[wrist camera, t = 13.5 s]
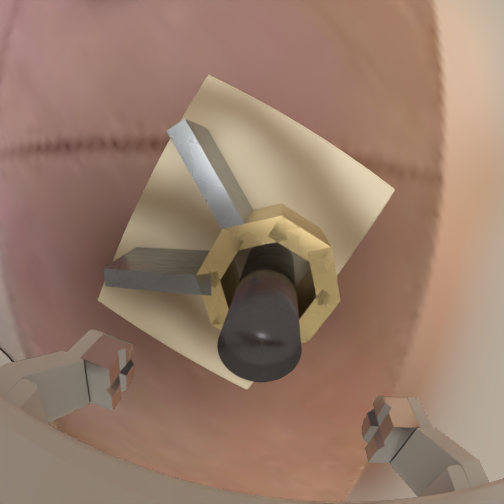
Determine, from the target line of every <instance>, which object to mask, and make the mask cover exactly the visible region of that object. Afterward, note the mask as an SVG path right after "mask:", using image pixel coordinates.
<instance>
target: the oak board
mask: <svg viewBox="0 0 504 504" xmlns="http://www.w3.org/2000/svg"><path fill="white" fill-rule="evenodd" d="M184 119H187V120H189V121H191V122H194V123H196V124H198V125H201V126H203V127H205V128H207V129H208V131H209V133H210V134H211V136H212V138H213V140H214V141H215V143H216V145H217V147H218V148H219V150H220V152H221V154H222V155H223V157H224V159H225V161H226V162H227V164H228V166H229V168H230V169H231V171H232V173H233V175H234V177H235V178H236V180H237V182H238V184H239V185H240V187H241V189H242V191H243V193H244V194H245V196H246V198H247V200H248V202H249V203H250V205H251V207H252V209H253V210H255V209H259V208H264V207H268V206H273V205H277V204H281V203H282V204H283V205H285V206H287V207H288V208H290V209H291V210H293V211H295V212H296V213H298V214H299V215H301V216H302V217H304V218H306V219H307V220H309V221H310V222H312V223H313V224H315V225H316V226H318V227H320V228H321V229H322V231H323V233H324V234H325V236H326V238H327V240H328V241H329V243H330V245H331V247H332V252H333V258H334V264H335V269H336V275H338V274H339V272H340V271H341V269H342V268H343V267H344V265H345V264H346V262H347V261H348V260H349V258H350V257H351V255H352V254H353V252H354V251H355V250H356V248H357V247H358V245H359V244H360V242H361V241H362V239H363V238H364V236H365V235H366V233H367V232H368V230H369V229H370V227H371V226H372V224H373V223H374V221H375V220H376V218H377V217H378V215H379V214H380V212H381V211H382V209H383V208H384V206H385V204H386V203H387V201H388V200H389V198H390V197H391V195H392V193H393V192H394V190H395V189H394V188H392V187H391V186H390V185H388V184H387V183H386V182H385V181H383V180H382V179H381V178H379V177H378V176H376V175H375V174H374V173H372V172H371V171H370V170H368V169H367V168H365V167H364V166H363V165H361V164H360V163H358V162H357V161H356V160H354V159H353V158H351V157H350V156H348V155H347V154H345V153H344V152H343V151H341V150H340V149H338V148H337V147H335V146H334V145H332V144H331V143H329V142H328V141H326V140H324V139H323V138H321V137H320V136H318V135H317V134H315V133H313V132H312V131H310V130H309V129H307V128H305V127H304V126H302V125H301V124H299V123H297V122H296V121H294V120H292V119H291V118H289V117H287V116H285V115H284V114H282V113H280V112H279V111H277V110H275V109H273V108H272V107H270V106H268V105H266V104H264V103H263V102H261V101H259V100H257V99H255V98H253V97H252V96H250V95H248V94H246V93H244V92H242V91H240V90H238V89H236V88H234V87H232V86H230V85H228V84H226V83H224V82H222V81H220V80H218V79H216V78H214V77H212V76H210V75H208V76H207V78H206V79H205V81H204V82H203V84H202V86H201V87H200V89H199V90H198V92H197V94H196V95H195V97H194V99H193V100H192V102H191V104H190V105H189V107H188V109H187V110H186V112H185V114H184V115H183V117H182V119H181V121H182V120H184ZM181 121H180V122H181ZM221 231H222V229H221V227H220V226H219V224H218V222H217V220H216V219H215V217H214V215H213V213H212V211H211V210H210V208H209V206H208V204H207V203H206V201H205V199H204V197H203V196H202V194H201V192H200V190H199V189H198V187H197V185H196V183H195V181H194V180H193V178H192V176H191V174H190V173H189V171H188V169H187V167H186V165H185V164H184V162H183V160H182V158H181V157H180V155H179V153H178V151H177V149H176V148H175V146H174V144H173V142H172V140H171V139H170V140H169V142H168V144H167V146H166V147H165V149H164V151H163V153H162V155H161V157H160V159H159V161H158V163H157V165H156V166H155V168H154V170H153V172H152V174H151V176H150V178H149V180H148V182H147V184H146V186H145V189H144V191H143V193H142V195H141V197H140V199H139V201H138V203H137V205H136V208H135V210H134V212H133V214H132V216H131V218H130V221H129V223H128V225H127V227H126V230H125V232H124V234H123V237H122V239H121V241H120V244H119V246H118V249H117V251H116V253H115V256H114V258H113V261H115V260H117V259H118V258H120V257H121V256H123V255H124V254H126V253H128V252H129V251H131V250H132V249H134V248H136V247H141V248H164V249H187V250H209V251H210V250H211V248H212V247H213V245H214V243H215V241H216V240H217V238H218V236H219V235H220V233H221ZM252 248H253V247H251V248H246V249H242V250H238V252H237V254H236V255H235V257H234V258H235V262H236V266H237V269H238V273H239V277H241V275H242V272H243V269H244V266H245V264H246V261H247V258H248V255H249V253H250V251H251V249H252ZM290 251H291V250H290ZM291 253H292V256H293V261H294V271H295V281H296V287H297V285H298V284H299V282H300V281H301V280H302V278H303V277H304V275H305V274H306V272H307V271H308V270H309V268H310V267H309V262H308V261H307V260H305V259H304V258H302V257H301V256H299V255H297V254H296V253H294V252H292V251H291ZM113 261H112V262H113ZM98 301H99V302H101V303H102V304H104V305H105V306H107V307H108V308H109V309H111V310H112V311H114V312H115V313H117V314H118V315H120V316H121V317H123V318H124V319H126V320H127V321H129V322H130V323H132V324H133V325H135V326H136V327H138V328H139V329H141V330H142V331H144V332H146V333H147V334H149V335H150V336H152V337H153V338H155V339H157V340H158V341H160V342H162V343H163V344H165V345H167V346H168V347H170V348H171V349H173V350H175V351H177V352H178V353H180V354H182V355H183V356H185V357H187V358H189V359H190V360H192V361H194V362H196V363H197V364H199V365H201V366H203V367H205V368H206V369H208V370H210V371H212V372H214V373H216V374H217V375H219V376H221V377H223V378H225V379H227V380H229V381H231V382H233V383H235V384H237V385H238V386H240V387H242V388H244V389H246V390H247V389H248V388H249V387H250V386H251V384H252V383H253V382H254V381H249V380H245V379H242V378H240V377H238V376H236V375H235V374H233V373H232V372H231V371H229V370H228V369H227V368H226V367H225V365H224V364H223V363H222V361H221V359H220V357H219V354H218V348H217V343H218V338H219V335H220V332H221V330H220V329H218V328H216V327H214V326H213V325H211V322H210V319H209V316H208V313H207V310H206V307H205V304H204V301H203V298H202V295H195V294H182V293H170V292H158V291H147V290H137V289H126V288H117V287H107V286H105V282H104V284H103V287H102V290H101V292H100V295H99V298H98Z"/></svg>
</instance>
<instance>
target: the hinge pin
mask: <svg viewBox="0 0 504 504" xmlns="http://www.w3.org/2000/svg"><path fill="white" fill-rule="evenodd" d="M217 348H218V354H219V357H220V359H221V361H222V363H223V364H224V365H225V367H226V368H227V369H228V370H229V371H231V372H232V373H233V374H235V375H236V376H238V377H240V378H242V379H245V380H249V381H254V382H269V381H274V380H277V379H279V378H282V377H284V376H285V375H287V374H288V373H290V372H291V371H292V370H293V369H294V368H295V366H296V365H297V363H298V362H299V359H300V356H301V336H300V324H299V313H298V302H297V291H296V281H295V271H294V261H293V256H292V253H291V251H290V250H289V249H288V248H286V247H284V246H283V245H281V244H280V243H278V242H274V243H269V244H265V245H260V246H255V247H253V248H252V249H251V251H250V253H249V255H248V258H247V261H246V264H245V266H244V269H243V272H242V275H241V277H240V280H239V283H238V286H237V288H236V291H235V294H234V297H233V299H232V302H231V305H230V307H229V310H228V313H227V316H226V318H225V321H224V324H223V327H222V329H221V332H220V335H219V338H218V343H217Z"/></svg>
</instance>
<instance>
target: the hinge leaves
mask: <svg viewBox="0 0 504 504" xmlns="http://www.w3.org/2000/svg"><path fill="white" fill-rule="evenodd" d="M167 133H168V135H169V137H170V139H171V140H172V142H173V144H174V146H175V148H176V149H177V151H178V153H179V155H180V157H181V158H182V160H183V162H184V164H185V165H186V167H187V169H188V171H189V173H190V174H191V176H192V178H193V180H194V181H195V183H196V185H197V187H198V189H199V190H200V192H201V194H202V196H203V197H204V199H205V201H206V203H207V204H208V206H209V208H210V210H211V211H212V213H213V215H214V217H215V219H216V220H217V222H218V224H219V226H220V227H221V229H222V231H221V233H220V235H219V236H218V238H217V240H216V241H215V243H214V245H213V247H212V248H211V250H210V251H209V250H187V249H164V248H141V247H136V248H134V249H132V250H131V251H129V252H128V253H126V254H124V255H123V256H121V257H120V258H118V259H117V260H115V261H113V262H112V263H110V264H109V265H107V266H106V267H104V268H103V273H104V281H105V286H107V287H117V288H126V289H137V290H147V291H158V292H170V293H182V294H195V295H202V298H203V301H204V304H205V307H206V310H207V313H208V316H209V319H210V322H211V325H213V326H214V327H216V328H218V329H220V330H221V329H222V327H223V324H224V321H225V318H226V316H227V313H228V310H229V307H230V305H231V302H232V299H233V297H234V294H235V291H236V288H237V286H238V283H239V280H240V277H239V273H238V269H237V266H236V262H235V258H234V257H235V255H236V254H237V252H238V250H242V249H246V248H251V247H255V246H260V245H265V244H269V243H274V242H278V243H280V244H281V245H283V246H284V247H286V248H288V249H289V250H291V251H292V252H294V253H296V254H297V255H299V256H301V257H302V258H304V259H305V260H307V261H308V262H309V267H310V268H309V270H308V271H307V272H306V274H305V275H304V277H303V278H302V280H301V281H300V282H299V284H298V285H297V287H296V291H297V302H298V313H299V324H300V336H301V343H302V342H308V341H309V340H310V339H311V338H312V336H313V335H314V334H315V333H316V331H317V330H318V329H319V328H320V326H321V325H322V324H323V323H324V321H325V320H326V319H327V318H328V316H329V315H330V314H331V312H332V311H333V310H334V309H335V307H336V306H337V305H338V303H339V302H340V301H341V300H340V294H339V288H338V282H337V275H336V269H335V264H334V258H333V252H332V247H331V245H330V243H329V241H328V240H327V238H326V236H325V234H324V233H323V231H322V229H321V228H320V227H318V226H316V225H315V224H313V223H312V222H310V221H309V220H307V219H306V218H304V217H302V216H301V215H299V214H298V213H296V212H295V211H293V210H291V209H290V208H288V207H287V206H285V205H283V204H282V203H281V204H277V205H273V206H268V207H264V208H259V209H255V210H253V209H252V207H251V205H250V203H249V202H248V200H247V198H246V196H245V194H244V193H243V191H242V189H241V187H240V185H239V184H238V182H237V180H236V178H235V177H234V175H233V173H232V171H231V169H230V168H229V166H228V164H227V162H226V161H225V159H224V157H223V155H222V154H221V152H220V150H219V148H218V147H217V145H216V143H215V141H214V140H213V138H212V136H211V134H210V133H209V131H208V129H207V128H205V127H203V126H201V125H198V124H196V123H194V122H191V121H189V120H187V119H184V120H182V121H181V122H179V123H178V124H176V125H174V126H173V127H171V128H170V129H168V130H167Z"/></svg>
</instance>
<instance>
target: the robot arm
mask: <svg viewBox="0 0 504 504" xmlns="http://www.w3.org/2000/svg"><path fill="white" fill-rule="evenodd" d="M133 354H134V346H133V344H132V343H130V342H127V341H124V340H122V339H119V338H116V337H114V336H111V335H108V334H105V333H103V332H100V331H97V330H95V329H91V330H89V331H88V332H87V333H86V334H85V335H84V336H83V337H82V338H81V339H80V340H79V341H78V342H77V343H76V344H75V345H73V346H72V347H71V348H70V349H69V350H68V351H67V352H65V351H60V352H56V353H51V354H47V355H43V356H38V357H34V358H29V359H25V360H20V361H16V362H12V361H11V360H10V359H9V358H8V357H7V356H6V355H5V354H4V353H3V352H2V351H1V350H0V504H504V479H500V480H497V481H493V482H490V483H489V480H488V478H487V476H486V474H485V472H484V470H483V467H482V465H481V464H480V461H479V460H478V459H477V458H475V457H474V456H473V455H471V454H470V453H469V452H467V451H466V450H465V449H463V448H462V447H460V446H459V445H458V444H457V443H455V442H454V441H453V440H451V439H450V438H449V437H447V436H446V435H445V434H444V433H442V432H441V431H440V430H438V429H437V428H433V427H432V425H431V423H430V421H429V419H428V417H427V415H426V412H425V410H424V408H423V406H422V404H421V402H420V400H419V399H418V398H416V397H391V396H378V397H377V398H376V400H375V401H374V403H373V406H374V409H373V410H372V411H370V412H369V413H367V415H366V417H365V419H364V421H363V425H362V436H363V439H364V440H365V441H366V442H367V443H368V444H367V446H366V447H365V450H366V454H367V459H368V462H376V463H390V465H391V466H392V467H393V468H394V470H395V471H396V472H397V473H398V474H399V475H400V477H401V478H402V479H403V480H404V481H405V482H406V484H407V485H408V486H409V487H410V488H411V489H412V491H413V492H414V493H415V494H416V495H417V496H418V497H415V498H406V499H396V500H383V501H364V502H328V501H306V500H293V499H283V498H274V497H266V496H259V495H252V494H246V493H240V492H235V491H229V490H224V489H220V488H215V487H211V486H206V485H202V484H198V483H194V482H190V481H186V480H183V479H179V478H176V477H172V476H169V475H166V474H162V473H159V472H156V471H153V470H150V469H147V468H144V467H141V466H139V465H136V464H133V463H130V462H128V461H125V460H122V459H120V458H117V457H115V456H112V455H110V454H108V453H105V452H103V451H101V450H98V449H96V448H94V447H92V446H89V445H87V444H85V443H83V442H81V441H79V440H77V439H75V438H73V437H71V436H69V435H67V434H65V433H63V432H61V431H59V430H57V429H55V428H54V427H52V426H50V425H49V422H51V421H53V420H55V419H58V418H60V417H62V416H64V415H66V414H69V413H71V412H73V411H75V410H77V409H79V408H81V407H83V406H86V405H88V404H90V402H91V403H93V404H96V405H98V406H101V407H103V408H106V409H109V410H111V411H113V410H114V409H115V407H116V406H117V404H118V402H119V401H120V399H121V392H122V391H125V390H127V388H128V387H129V385H130V383H131V380H132V377H133V372H134V364H133V362H132V361H131V357H132V356H133Z"/></svg>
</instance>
